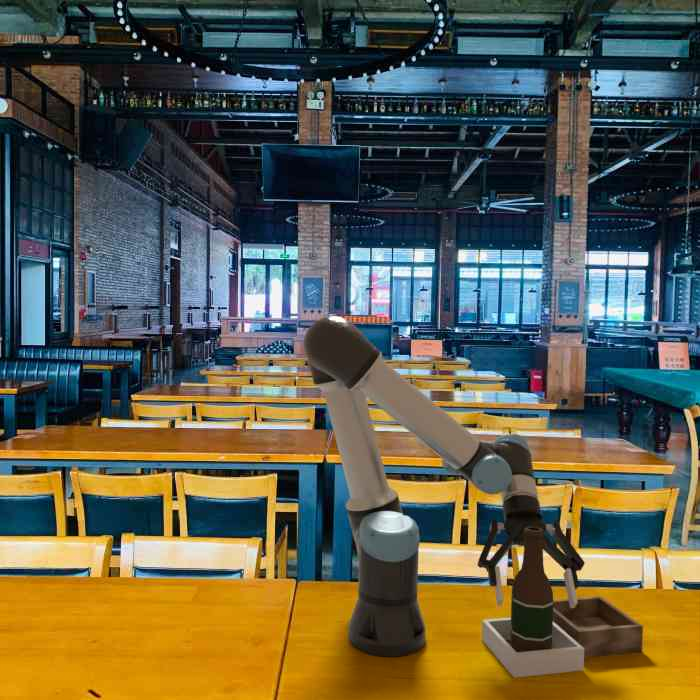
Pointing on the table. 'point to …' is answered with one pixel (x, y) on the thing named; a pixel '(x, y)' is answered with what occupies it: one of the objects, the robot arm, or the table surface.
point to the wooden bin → (598, 626)
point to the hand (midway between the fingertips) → (537, 604)
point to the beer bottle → (531, 599)
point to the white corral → (532, 662)
